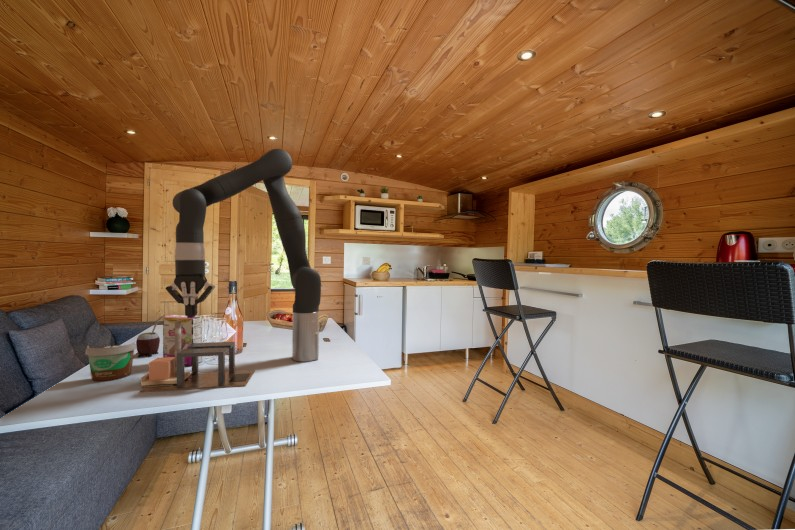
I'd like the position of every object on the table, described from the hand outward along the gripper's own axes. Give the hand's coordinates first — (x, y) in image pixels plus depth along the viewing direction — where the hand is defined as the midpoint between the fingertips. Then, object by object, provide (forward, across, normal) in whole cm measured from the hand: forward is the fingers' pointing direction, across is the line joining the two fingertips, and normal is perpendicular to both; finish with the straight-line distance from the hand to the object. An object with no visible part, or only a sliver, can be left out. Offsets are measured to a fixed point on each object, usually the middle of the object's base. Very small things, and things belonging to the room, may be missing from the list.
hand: (191, 317), depth 102 cm
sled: (+18, +7, 0) cm, 19 cm away
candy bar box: (+19, +10, -19) cm, 29 cm away
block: (+17, +8, 0) cm, 19 cm away
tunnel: (+19, -3, 0) cm, 19 cm away
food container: (+19, +25, -6) cm, 32 cm away
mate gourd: (+19, +26, -32) cm, 45 cm away
